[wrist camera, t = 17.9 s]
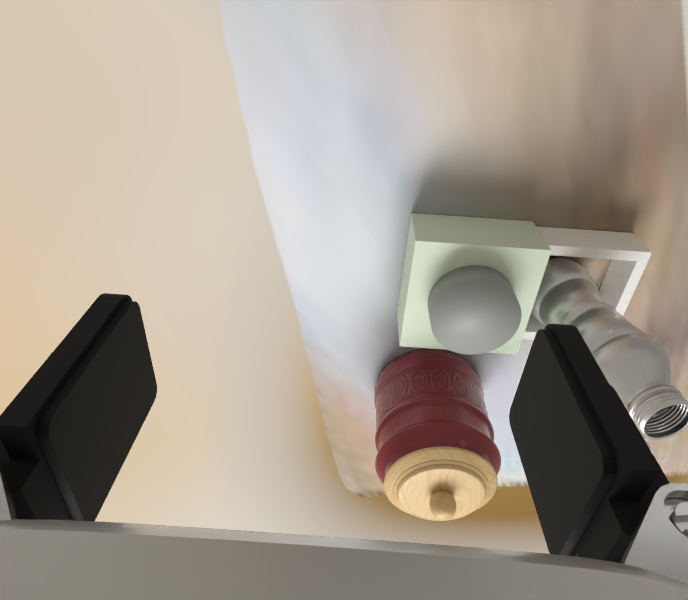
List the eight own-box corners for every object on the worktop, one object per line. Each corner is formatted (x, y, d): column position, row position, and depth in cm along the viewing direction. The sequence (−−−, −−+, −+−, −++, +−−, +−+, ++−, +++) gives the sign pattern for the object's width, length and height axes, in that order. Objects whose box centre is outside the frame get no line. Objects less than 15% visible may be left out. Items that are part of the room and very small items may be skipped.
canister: (462, 429, 65) (489, 562, 51) (365, 415, 65) (364, 546, 50) (494, 354, 58) (536, 485, 43) (385, 338, 57) (391, 465, 43)
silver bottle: (591, 265, 51) (736, 402, 34) (548, 313, 54) (662, 462, 37) (544, 240, 49) (675, 373, 32) (502, 292, 52) (602, 439, 35)
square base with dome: (410, 212, 49) (418, 257, 41) (634, 228, 48) (683, 276, 41) (396, 312, 55) (400, 365, 48) (593, 326, 55) (628, 382, 48)
